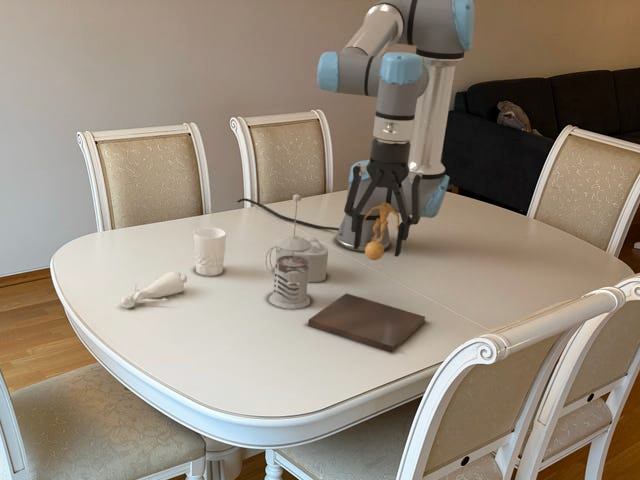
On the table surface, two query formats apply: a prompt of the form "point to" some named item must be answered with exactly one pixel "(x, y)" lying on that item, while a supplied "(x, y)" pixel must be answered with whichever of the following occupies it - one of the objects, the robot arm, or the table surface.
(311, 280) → the lumpy-topped squat cylinder
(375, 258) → the figurine
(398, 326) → the walnut board
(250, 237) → the table surface
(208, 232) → the white cup
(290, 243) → the french press
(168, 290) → the woman figurine
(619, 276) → the table surface
